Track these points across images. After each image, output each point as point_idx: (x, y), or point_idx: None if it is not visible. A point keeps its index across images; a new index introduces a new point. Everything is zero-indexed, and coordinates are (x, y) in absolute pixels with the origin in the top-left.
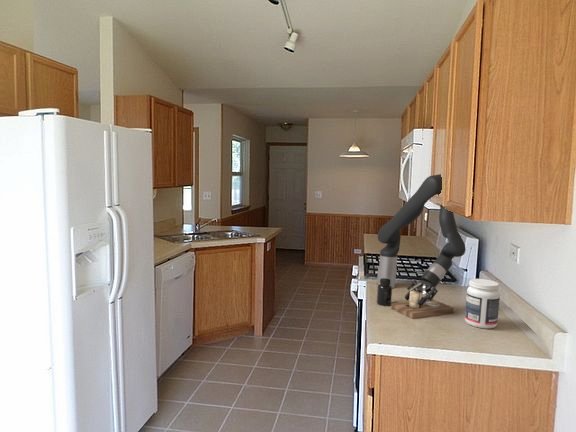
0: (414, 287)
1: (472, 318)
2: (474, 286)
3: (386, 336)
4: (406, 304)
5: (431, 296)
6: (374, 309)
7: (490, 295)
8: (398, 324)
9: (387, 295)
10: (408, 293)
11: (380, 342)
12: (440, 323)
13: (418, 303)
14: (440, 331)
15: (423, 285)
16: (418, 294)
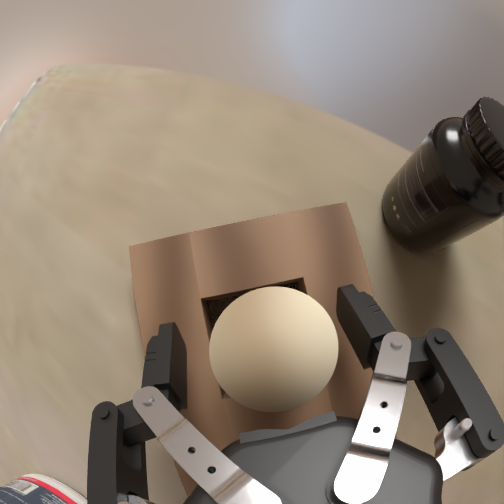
0: (376, 391)
1: (20, 481)
2: None
3: (52, 95)
4: (318, 302)
5: (131, 459)
6: (322, 124)
7: None
8: (101, 152)
9: (410, 179)
10: (365, 318)
11: (40, 80)
12: (66, 375)
13: (162, 324)
14: (5, 300)
15: (263, 498)
16: (212, 366)
